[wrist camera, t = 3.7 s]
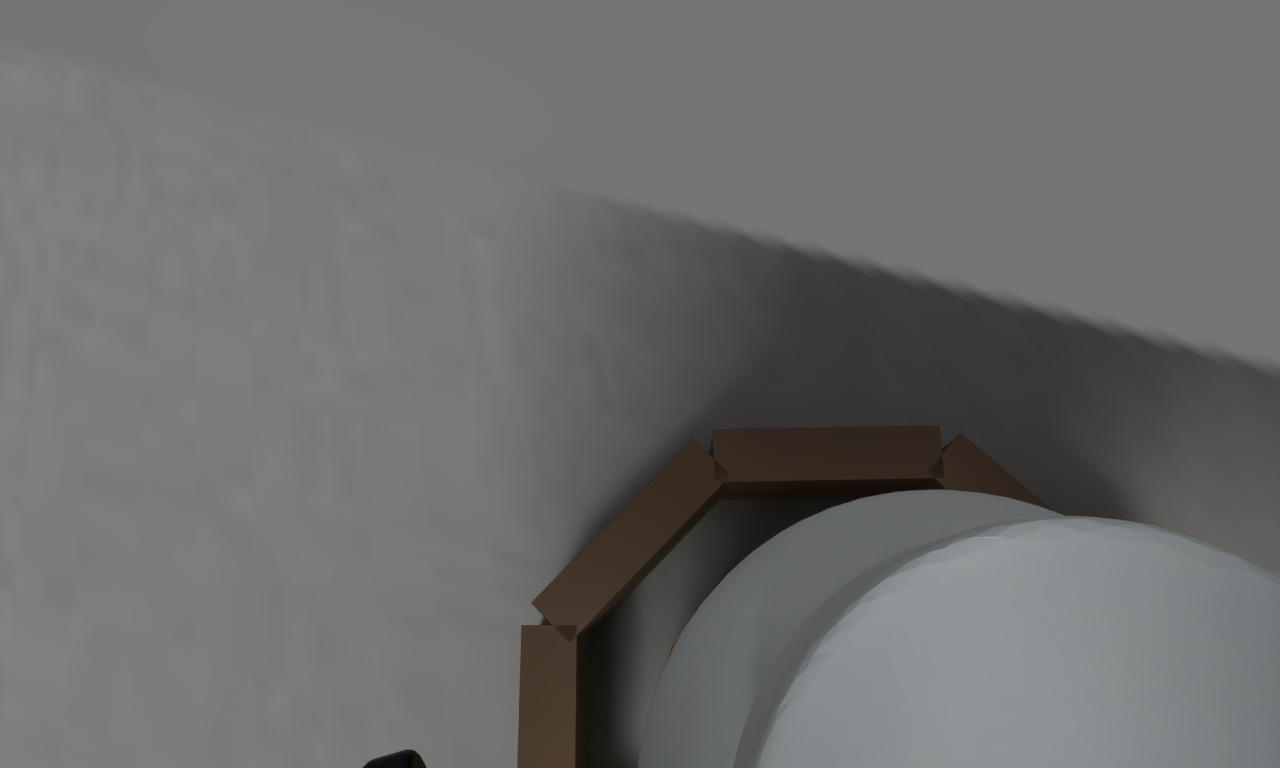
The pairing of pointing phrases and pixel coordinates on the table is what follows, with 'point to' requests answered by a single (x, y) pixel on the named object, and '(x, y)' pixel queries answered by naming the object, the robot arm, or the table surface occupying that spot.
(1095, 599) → the supplement bottle
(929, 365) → the table surface
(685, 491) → the collar
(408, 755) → the robot arm
